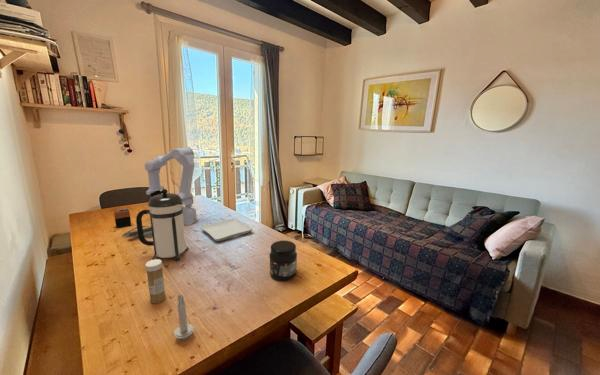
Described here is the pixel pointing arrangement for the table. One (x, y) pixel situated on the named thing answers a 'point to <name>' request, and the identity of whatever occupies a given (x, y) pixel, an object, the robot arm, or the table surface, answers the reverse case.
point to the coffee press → (164, 225)
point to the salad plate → (226, 229)
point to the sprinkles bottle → (155, 280)
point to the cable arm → (137, 231)
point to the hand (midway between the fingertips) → (157, 203)
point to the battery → (122, 218)
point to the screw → (183, 322)
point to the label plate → (146, 234)
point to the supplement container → (283, 260)
